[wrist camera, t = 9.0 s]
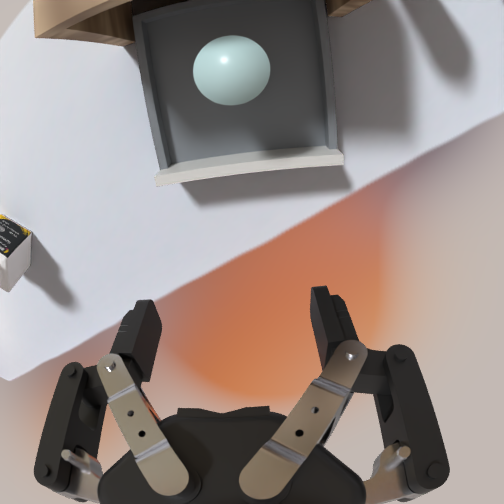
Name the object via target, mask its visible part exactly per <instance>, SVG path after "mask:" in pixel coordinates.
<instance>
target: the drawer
mask: <svg viewBox="0 0 504 504" xmlns="http://www.w3.org/2000/svg"><path fill="white" fill-rule="evenodd" d="M132 20H133V28H134V35H135V42H136V49H137V56H138V62H139V68H140V74H141V80H142V86H143V91H144V97H145V102H146V107H147V112H148V117H149V122H150V127H151V132H152V136H153V141H154V145H155V150H156V154H157V159H158V163H159V167H160V171H159V172H158V173H157V174H156V175H155V176H154V178H155V182H156V186H157V187H158V186H163V185H169V184H175V183H181V182H187V181H194V180H200V179H207V178H214V177H221V176H229V175H236V174H245V173H253V172H262V171H272V170H282V169H293V168H305V167H319V166H334V165H344V154H342V153H341V152H340V151H339V150H338V149H337V125H336V106H335V91H334V79H333V68H332V58H331V49H330V40H329V32H328V25H327V18H326V11H325V4H324V0H190V1H185V2H181V3H177V4H173V5H169V6H165V7H161V8H158V9H154V10H151V11H147V12H144V13H141V14H138V15H135V16H132ZM230 35H235V36H242V37H246V38H248V39H251V40H253V41H254V42H256V43H257V44H258V45H260V46H261V48H262V49H263V50H264V51H265V53H266V55H267V56H268V59H269V62H270V77H269V80H268V83H267V85H266V86H265V88H264V89H263V91H262V92H261V93H260V94H259V95H258V96H257V97H255V98H254V99H252V100H251V101H248V102H246V103H243V104H239V105H222V104H218V103H215V102H213V101H211V100H210V99H208V98H207V97H205V96H204V95H203V94H202V93H201V92H200V90H199V89H198V87H197V85H196V83H195V81H194V76H193V66H194V62H195V59H196V57H197V55H198V53H199V52H200V51H201V49H202V48H203V47H204V46H205V45H207V44H208V43H209V42H211V41H212V40H215V39H217V38H220V37H223V36H230Z"/></svg>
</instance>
